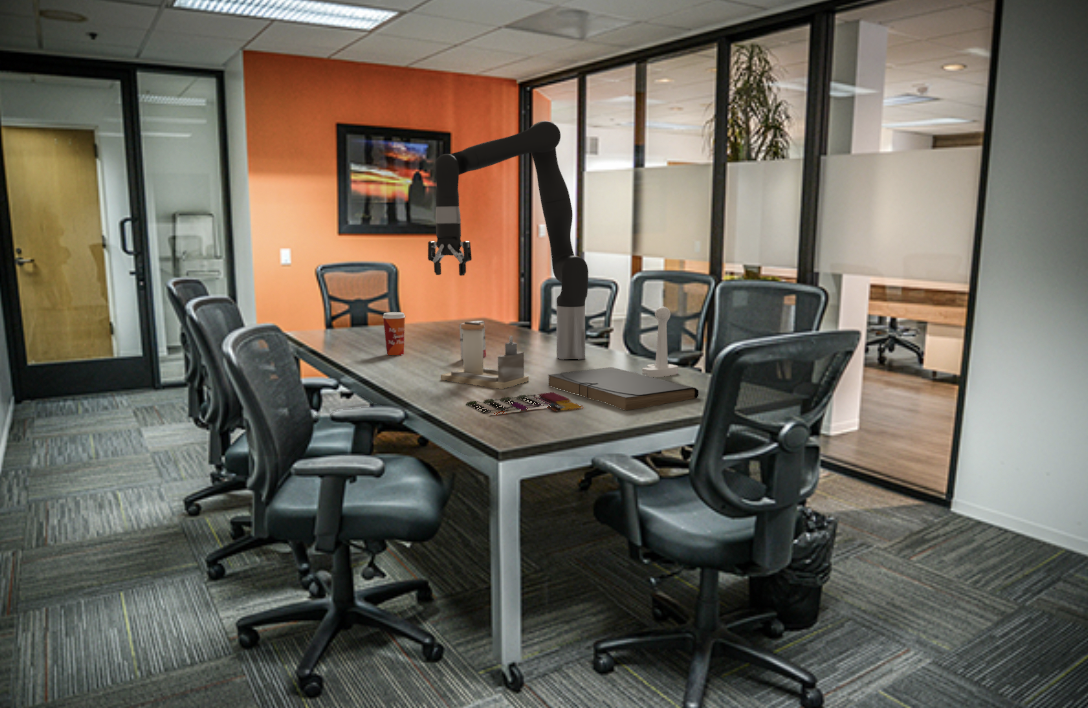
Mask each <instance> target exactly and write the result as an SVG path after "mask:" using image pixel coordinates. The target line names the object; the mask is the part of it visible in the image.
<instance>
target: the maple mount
mask: <svg viewBox="0 0 1088 708" xmlns="http://www.w3.org/2000/svg"><path fill="white" fill-rule="evenodd" d="M524 353H525V352H523V351H517V355H505V354H503V355H498V356H497V369H496V368H491V367H490V368H488V367H483V374H481V375H479V374H472V373H465V372H464V368H462V369H459V370H453V371H450V372H447V373H446V372H445V373H442V374H440V381H445V380H447V381H446V382H451V381H453V382H452V383H458V382H459V384H464V383H467V384H466V385H470V384H473V385H472V386H477V385H480V386H479V387H483V386H485V387H484V388H490V387H491V388H492V389H496V388H499V389H498V390H505V389H508V388H507V387H509V388H511V387H510V386H512V387H515V386H514V385H516V386H518V385H517V384H519V385H521V384H520V383H522V384H525V383H524V382H526V383H528V382H527V381H529V380H530V379H529V376H528V375H525V354H524ZM529 382H530V381H529ZM504 388H505V389H504Z"/></svg>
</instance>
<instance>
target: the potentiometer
mask: <svg viewBox="0 0 1088 708" xmlns="http://www.w3.org/2000/svg"><path fill="white" fill-rule="evenodd" d="M508 336H509V338H508V339H509V340H508V341H509V342H505V343H504V355H517V352H518V343H517V342H514V341H513V335H508Z"/></svg>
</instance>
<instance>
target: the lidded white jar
mask: <svg viewBox="0 0 1088 708" xmlns="http://www.w3.org/2000/svg"><path fill="white" fill-rule="evenodd" d="M463 323H464V324H463ZM463 323H460V324H461V329H463V364H462V365H463V369H464V372H465V373H472V374H479V375H481V374H483V368H484V357H483V328H484V324H482V323H472V322H471V321H465V322H463Z"/></svg>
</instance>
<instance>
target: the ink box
mask: <svg viewBox="0 0 1088 708" xmlns="http://www.w3.org/2000/svg"><path fill="white" fill-rule="evenodd" d="M470 322H472V323H482V324H484V328H483V358H485V357H487V347H486V326H485V321H484V320H472V321H470ZM464 323H465V322H463V323H459V338H460V339H459V342H460V359H461V360H462V359H463V329H461V324H464Z"/></svg>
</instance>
